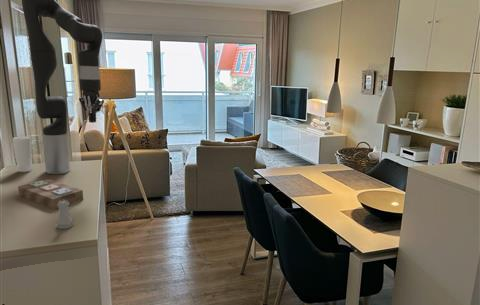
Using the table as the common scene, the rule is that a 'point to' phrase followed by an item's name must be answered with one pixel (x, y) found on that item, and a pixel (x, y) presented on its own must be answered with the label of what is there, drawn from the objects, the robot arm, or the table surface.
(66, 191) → the two-pip button
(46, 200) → the button panel
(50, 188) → the one-pip button
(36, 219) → the table surface
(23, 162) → the drinking glass
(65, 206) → the rook chess piece
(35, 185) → the three-pip button
